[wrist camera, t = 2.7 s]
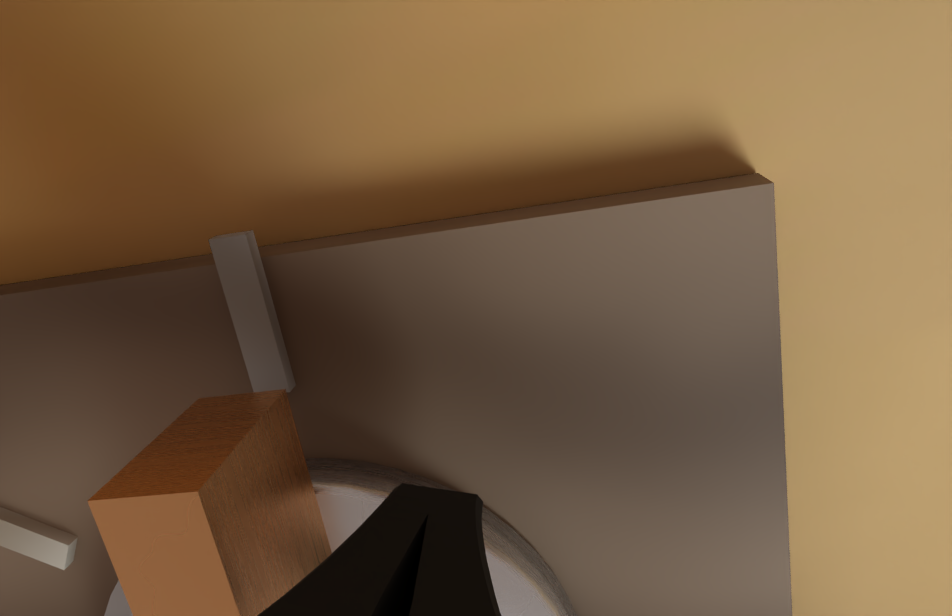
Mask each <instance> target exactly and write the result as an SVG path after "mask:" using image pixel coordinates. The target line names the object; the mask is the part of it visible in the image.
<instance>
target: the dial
mask: <svg viewBox="0 0 952 616" xmlns="http://www.w3.org/2000/svg"><path fill="white" fill-rule="evenodd" d="M402 483H404V484H411V485H417V486H424V487H431V488H438V489H444V490H451V491H455V490H453V489H450V488H448V487H446V486H444V485H442V484H439V483H437V482H435V481H433V480H430V479H428V478H425V477H422V476H419V475H416V474H413V473H410V472H407V471H404V470H401V469H398V468H394V467H389V466H385V465H380V464H375V463H370V462H365V461H358V460H347V459H335V458H309V459H305V456H304V453H303V449H302V446H301V442H300V438H299V435H298V431H297V428H296V424H295V421H294V417H293V414H292V410H291V407H290V403H289V400H288V396H287V392H286V389H280V390H271V391H262V392H253V393H244V394H235V395H225V396H216V397H207V398H199V399H197V400H196V401H195V402H194V403H193V404H192V405H191V406H190V407H189V408H188V409H187V410H185V411H184V412H183V413H182V414H181V415H180V416H179V417H178V418H177V419H176V420H175V421H174V422H172V423H171V424H170V425H169V426H168V427H167V428H166V429H165V430H164V431H163V432H162V433H161V434H159V435H158V436H157V437H156V438H155V439H154V440H153V441H152V442H151V443H150V444H149V445H147V446H146V447H145V448H144V449H143V450H142V451H141V452H140V453H139V454H138V455H137V456H136V457H134V458H133V459H132V460H131V461H130V462H129V463H128V464H127V465H126V466H125V467H124V468H122V469H121V470H120V471H119V472H118V473H117V474H116V475H115V476H114V477H113V478H112V479H111V480H109V481H108V482H107V483H106V484H105V485H104V486H103V487H102V488H101V489H100V490H99V491H98V492H96V493H95V494H94V495H93V496H92V497H91V498H90V499H89V500H88V501H87V502H88V504H89V507H90V509H91V512H92V514H93V517H94V519H95V522H96V524H97V527H98V529H99V532H100V534H101V537H102V539H103V542H104V544H105V547H106V549H107V552H108V554H109V557H110V559H111V562H112V564H113V567H114V569H115V572H116V574H117V577H118V579H119V580H118V582H117V584H116V586H115V588H114V590H113V592H112V594H111V596H110V599H109V602H108V605H107V609H106V612H105V615H104V616H257V615H258V614H260V613H261V612H262V611H264V610H265V609H266V608H268V607H269V606H270V605H272V604H273V603H274V602H275V601H277V600H278V599H279V598H281V597H282V596H283V595H284V594H286V593H287V592H288V591H289V590H290V589H291V588H293V587H294V586H295V585H296V584H297V583H299V582H300V581H301V580H302V579H303V578H304V577H306V576H307V575H308V574H309V573H310V572H311V571H313V570H314V569H315V568H316V567H317V566H319V565H320V564H321V563H322V562H323V561H324V560H325V559H326V558H327V557H328V556H330V555H331V554H332V553H333V552H334V551H335V550H336V549H337V548H338V547H339V546H340V545H341V544H342V543H343V542H344V541H345V540H346V539H347V538H348V537H349V536H350V535H351V534H353V533H354V532H355V531H356V530H357V529H358V527H359V526H360V525H361V524H362V523H363V522H364V521H365V520H366V519H367V518H368V517H369V516H370V515H371V514H372V513H373V512H374V511H375V510H376V509H377V508H378V507H379V505H380V504H381V503H382V502H383V501H384V500H385V499H386V498H387V497H388V495H389V494H390V493H391V492H392V491H393V490H394V488H396V487H397V486H399V485H400V484H402ZM482 529H483V538H484V545H485V552H486V557H487V563H488V567H489V571H490V575H491V580H492V584H493V588H494V592H495V596H496V599H497V603H498V606H499V610H500V613H501V616H577V615H576V612H575V610H574V608H573V605H572V603H571V600H570V599H569V597H568V595H567V594H566V592H565V590H564V589H563V587H562V585H561V584H560V582H559V580H558V579H557V577H556V575H555V574H554V573H553V572H552V570H551V569H550V568H549V567H548V565H547V564H546V563H545V561H544V560H543V559H542V558H541V556H540V555H539V554H538V553H537V552H536V551H535V550H534V549H533V548H532V547H531V546H530V545H529V544H528V543H527V542H526V541H525V540H524V539H523V538H522V537H521V536H520V535H519V534H518V533H517V532H516V531H515V530H514V529H513V528H511V527H510V526H509V525H507V524H506V523H505V522H503V521H502V520H501V519H499V518H498V517H497V516H496V515H494V514H493V513H492V512H490V511H489V510H488V509H486V508H484V507H483V511H482Z"/></svg>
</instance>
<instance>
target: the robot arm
mask: <svg viewBox="0 0 952 616" xmlns="http://www.w3.org/2000/svg"><path fill="white" fill-rule="evenodd" d="M482 511H483V501H482V500H481V498H480V497H479V496H478V495H477V494H471V493H465V492H458V491H451V490H444V489H438V488H431V487H424V486H417V485H411V484H404V483H402V484H400V485H399V486H397V487H396V488H394V490H393V491H392V492H391V493H390V494H389V495H388V497H387V498H386V499H385V500H384V501H383V502H382V503H381V504H380V505H379V507H378V508H377V509H376V510H375V511H374V512H373V513H372V514H371V515H370V516H369V517H368V518H367V519H366V520H365V521H364V522H363V523H362V524H361V525H360V526H359V527H358V529H357V530H356V531H355V532H354V533H353V534H351V535H350V536H349V537H348V538H347V539H346V540H345V541H344V542H343V543H342V544H341V545H340V546H339V547H338V548H337V549H336V550H335V551H334V552H333V553H332V554H331V555H330V556H328V557H327V558H326V559H325V560H324V561H323V562H322V563H321V564H320V565H319V566H317V567H316V568H315V569H314V570H313V571H311V572H310V573H309V574H308V575H307V576H306V577H304V578H303V579H302V580H301V581H300V582H299V583H297V584H296V585H295V586H294V587H293V588H291V589H290V590H289V591H288V592H287V593H286V594H284V595H283V596H282V597H281V598H279V599H278V600H277V601H275V602H274V603H273V604H272V605H270V606H269V607H268V608H266V609H265V610H264V611H262V612H261V613H260V614H258V615H257V616H501V613H500V610H499V606H498V603H497V599H496V596H495V592H494V588H493V584H492V580H491V575H490V571H489V567H488V563H487V557H486V552H485V545H484V538H483V529H482Z"/></svg>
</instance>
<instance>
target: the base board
mask: <svg viewBox="0 0 952 616" xmlns="http://www.w3.org/2000/svg"><path fill="white" fill-rule="evenodd" d="M209 244H210V247H211V251H212V254H209V255H202V256H195V257H188V258H182V259H175V260H168V261H161V262H155V263H148V264H141V265H134V266H128V267H121V268H114V269H107V270H101V271H94V272H87V273H80V274H74V275H67V276H60V277H53V278H47V279H40V280H33V281H26V282H20V283H13V284H6V285H0V616H104V615H105V612H106V609H107V605H108V602H109V599H110V596H111V594H112V592H113V590H114V588H115V586H116V584H117V582H118V580H119V579H118V577H117V574H116V572H115V569H114V567H113V564H112V562H111V559H110V557H109V554H108V552H107V549H106V547H105V544H104V542H103V539H102V537H101V534H100V532H99V529H98V527H97V524H96V522H95V519H94V517H93V514H92V512H91V509H90V507H89V504H88V502H87V501H88V500H89V499H90V498H91V497H92V496H93V495H94V494H95V493H96V492H98V491H99V490H100V489H101V488H102V487H103V486H104V485H105V484H106V483H107V482H108V481H109V480H111V479H112V478H113V477H114V476H115V475H116V474H117V473H118V472H119V471H120V470H121V469H122V468H124V467H125V466H126V465H127V464H128V463H129V462H130V461H131V460H132V459H133V458H134V457H136V456H137V455H138V454H139V453H140V452H141V451H142V450H143V449H144V448H145V447H146V446H147V445H149V444H150V443H151V442H152V441H153V440H154V439H155V438H156V437H157V436H158V435H159V434H161V433H162V432H163V431H164V430H165V429H166V428H167V427H168V426H169V425H170V424H171V423H172V422H174V421H175V420H176V419H177V418H178V417H179V416H180V415H181V414H182V413H183V412H184V411H185V410H187V409H188V408H189V407H190V406H191V405H192V404H193V403H194V402H195V401H196V400H197V399H199V398H207V397H216V396H225V395H235V394H244V393H253V392H262V391H271V390H280V389H286V392H287V396H288V400H289V403H290V407H291V410H292V414H293V417H294V421H295V424H296V428H297V431H298V435H299V438H300V442H301V446H302V449H303V453H304V456H305V459H309V458H335V459H347V460H358V461H365V462H370V463H375V464H380V465H385V466H389V467H394V468H398V469H401V470H404V471H407V472H410V473H413V474H416V475H419V476H422V477H425V478H428V479H430V480H433V481H435V482H437V483H439V484H442V485H444V486H446V487H448V488H450V489H453V490H455V491H458V492H465V493H471V494H477V495H478V496H479V497H480V498H481V500H482V501H483V507H484V508H486V509H488V510H489V511H490V512H492V513H493V514H494V515H496V516H497V517H498V518H499V519H501V520H502V521H503V522H505V523H506V524H507V525H509V526H510V527H511V528H513V529H514V530H515V531H516V532H517V533H518V534H519V535H520V536H521V537H522V538H523V539H524V540H525V541H526V542H527V543H528V544H529V545H530V546H531V547H532V548H533V549H534V550H535V551H536V552H537V553H538V554H539V555H540V556H541V558H542V559H543V560H544V561H545V563H546V564H547V565H548V567H549V568H550V569H551V570H552V572H553V573H554V574H555V575H556V577H557V579H558V580H559V582H560V584H561V585H562V587H563V589H564V590H565V592H566V594H567V595H568V597H569V599H570V600H571V603H572V605H573V608H574V610H575V612H576V615H577V616H792V599H791V575H790V552H789V528H788V505H787V481H786V458H785V434H784V410H783V387H782V363H781V340H780V316H779V293H778V269H777V246H776V222H775V199H774V183H773V182H771V181H770V180H768V179H767V178H765V177H763V176H762V175H760V174H759V173H755V174H749V175H742V176H735V177H728V178H722V179H715V180H708V181H701V182H695V183H688V184H681V185H674V186H668V187H661V188H654V189H647V190H641V191H634V192H627V193H620V194H614V195H607V196H600V197H593V198H587V199H580V200H573V201H566V202H560V203H553V204H546V205H539V206H533V207H526V208H519V209H512V210H506V211H499V212H492V213H485V214H479V215H472V216H465V217H458V218H452V219H445V220H438V221H431V222H425V223H418V224H411V225H404V226H398V227H391V228H384V229H377V230H371V231H364V232H357V233H350V234H344V235H337V236H330V237H323V238H317V239H310V240H303V241H296V242H290V243H283V244H276V245H269V246H263V247H258V246H257V243H256V239H255V235H254V232H253V230H251V231H244V232H238V233H231V234H225V235H218V236H215V237H213V238H211V239H209Z"/></svg>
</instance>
